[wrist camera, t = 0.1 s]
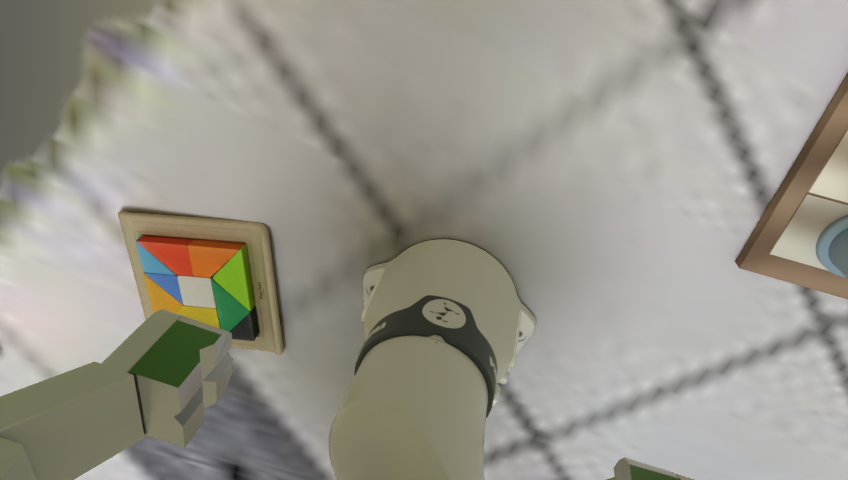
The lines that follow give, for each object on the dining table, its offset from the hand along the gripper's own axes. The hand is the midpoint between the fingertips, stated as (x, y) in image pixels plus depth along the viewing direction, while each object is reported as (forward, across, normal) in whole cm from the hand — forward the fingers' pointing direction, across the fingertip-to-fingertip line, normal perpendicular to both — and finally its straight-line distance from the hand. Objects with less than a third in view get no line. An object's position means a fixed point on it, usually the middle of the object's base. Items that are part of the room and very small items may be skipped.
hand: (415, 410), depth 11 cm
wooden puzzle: (+36, -28, -35) cm, 58 cm away
